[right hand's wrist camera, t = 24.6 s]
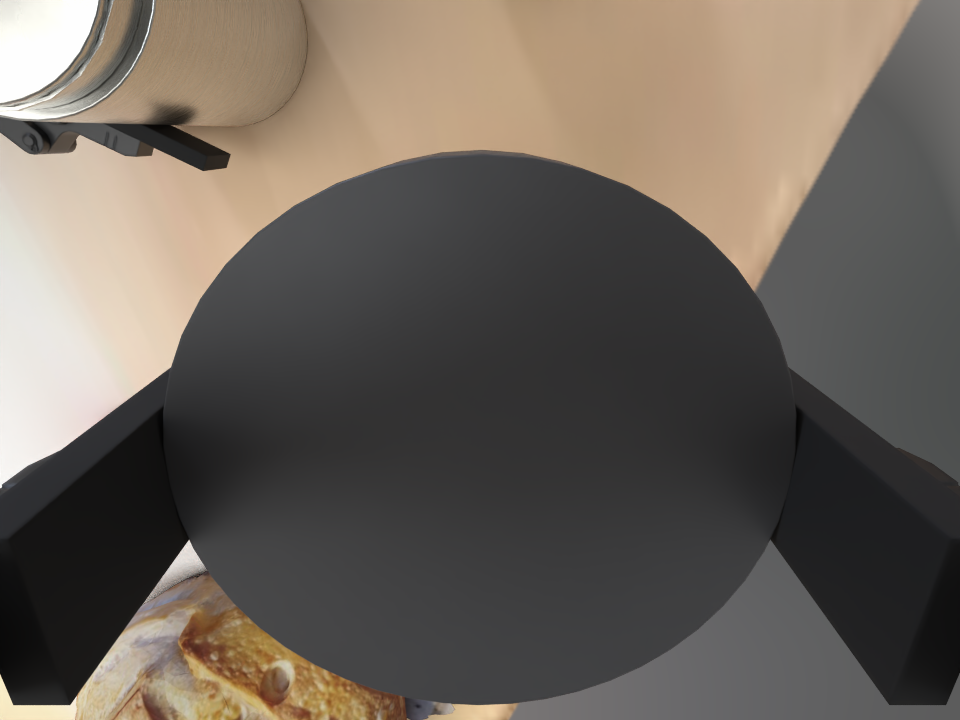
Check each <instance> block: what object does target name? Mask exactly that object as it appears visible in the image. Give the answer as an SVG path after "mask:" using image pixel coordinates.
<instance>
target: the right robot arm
mask: <svg viewBox="0 0 960 720" xmlns="http://www.w3.org/2000/svg"><path fill="white" fill-rule="evenodd" d="M788 368H789V367H788ZM170 369H171V368H170ZM170 369H168V370H167V371H166V372H164V373H163V374H162V375H160V376H159V377H158V378H156V379H155V380H154V381H152V382H151V383H150V384H148V385H147V386H146V387H144V388H143V389H142V390H140V391H139V392H138V393H136V394H135V395H134V396H132V397H131V398H130V399H128V400H127V401H126V402H124V403H123V404H122V405H120V406H119V407H118V408H116V409H115V410H114V411H112V412H111V413H110V414H108V415H107V416H106V417H104V418H103V419H102V420H100V421H99V422H98V423H96V424H95V425H94V426H92V427H91V428H90V429H88V430H87V431H86V432H84V433H83V434H82V435H81V436H79V437H78V438H77V439H75V440H74V441H73V442H71V443H70V444H69V445H67V446H66V447H65V448H63V449H62V450H60V451H58V452H56V453H54V454H52V455H50V456H48V457H46V458H43V459H41V460H39V461H37V462H35V463H33V464H31V465H29V466H27V467H26V468H24V469H23V470H22V471H20V472H19V473H17V474H16V475H15V476H13V477H12V478H11V479H9V480H8V481H7V482H5V483H4V484H2V488H0V675H1V677H2V679H3V682H4V684H5V686H6V689H7V691H8V693H9V696H10V698H11V700H12V703H13V705H70V704H71V703H72V702H73V700H74V699H75V698H76V696H77V695H78V693H79V692H80V691H81V689H82V688H83V686H84V685H85V684H86V682H87V681H88V679H89V678H90V677H91V675H92V674H93V672H94V671H95V670H96V668H97V667H98V666H99V664H100V663H101V661H102V660H103V659H104V657H105V656H106V654H107V653H108V652H109V650H110V649H111V647H112V646H113V645H114V643H115V642H116V640H117V639H118V638H119V636H120V635H121V634H122V632H123V631H124V629H125V628H126V627H127V625H128V624H129V622H130V621H131V620H132V618H133V617H134V615H135V614H136V613H137V611H138V610H139V608H140V607H141V606H142V604H143V603H144V602H145V600H146V599H147V597H148V596H149V595H150V593H151V592H152V590H153V589H154V588H155V586H156V585H157V583H158V582H159V581H160V579H161V578H162V576H163V575H164V574H165V572H166V571H167V570H168V568H169V567H170V565H171V564H172V563H173V561H174V560H175V558H176V557H177V556H178V554H179V553H180V551H181V550H182V549H183V547H184V546H185V544H186V543H187V542H188V540H189V538H188V536H187V533H186V531H185V529H184V527H183V525H182V523H181V520H180V518H179V516H178V513H177V509H176V506H175V503H174V499H173V495H172V491H171V487H170V483H169V478H168V474H167V469H166V463H165V456H164V449H163V410H164V404H165V397H166V391H167V385H168V379H169V373H170ZM789 372H790V375H791V380H792V387H793V394H794V401H795V408H796V454H795V460H794V466H793V471H792V475H791V480H790V484H789V489H788V493H787V496H786V500H785V504H784V507H783V510H782V513H781V517H780V520H779V522H778V524H777V526H776V528H775V530H774V532H773V534H772V536H771V538H770V539H771V541H772V542H773V544H774V545H775V546H776V548H777V549H778V551H779V552H780V553H781V555H782V556H783V557H784V559H785V560H786V562H787V563H788V564H789V566H790V567H791V569H792V570H793V571H794V573H795V574H796V576H797V577H798V578H799V580H800V581H801V583H802V584H803V585H804V587H805V588H806V590H807V591H808V592H809V594H810V595H811V596H812V598H813V599H814V601H815V602H816V603H817V605H818V606H819V608H820V609H821V610H822V612H823V613H824V615H825V616H826V617H827V619H828V620H829V621H830V623H831V624H832V626H833V627H834V628H835V630H836V631H837V633H838V634H839V635H840V637H841V638H842V640H843V641H844V642H845V644H846V645H847V647H848V648H849V649H850V651H851V652H852V654H853V655H854V656H855V658H856V659H857V660H858V662H859V663H860V664H861V666H862V667H863V669H864V670H865V672H866V673H867V674H868V676H869V677H870V679H871V680H872V681H873V683H874V684H875V686H876V687H877V688H878V690H879V691H880V693H881V694H882V695H883V697H884V698H885V699H886V701H887V702H888V704H889V705H946V704H947V702H948V699H949V697H950V694H951V692H952V690H953V687H954V685H955V683H956V680H957V678H958V676H959V673H960V486H958V482H957V481H955V480H954V479H953V478H951V477H950V476H949V475H947V474H946V473H944V472H943V471H942V470H940V469H939V468H938V467H936V466H935V465H933V464H932V463H930V462H928V461H926V460H923V459H921V458H919V457H917V456H915V455H913V454H911V453H909V452H906V451H904V450H902V449H900V448H895V447H894V446H892V445H891V444H890V443H888V442H887V441H886V440H884V439H883V438H882V437H880V436H879V435H878V434H876V433H875V432H874V431H872V430H871V429H870V428H868V427H867V426H866V425H864V424H863V423H862V422H860V421H859V420H858V419H856V418H855V417H854V416H852V415H851V414H850V413H848V412H847V411H846V410H844V409H843V408H842V407H841V406H839V405H838V404H836V403H835V402H834V401H833V400H831V399H830V398H829V397H827V396H826V395H825V394H823V393H822V392H821V391H819V390H818V389H817V388H815V387H814V386H813V385H811V384H810V383H809V382H807V381H806V380H805V379H803V378H802V377H801V376H799V375H798V374H797V373H795V372H794V371H793V370H791V369H790V368H789Z"/></svg>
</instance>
